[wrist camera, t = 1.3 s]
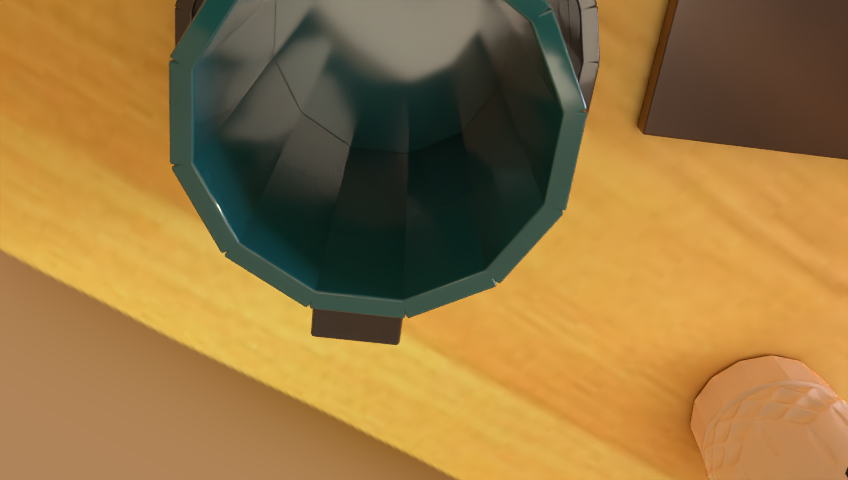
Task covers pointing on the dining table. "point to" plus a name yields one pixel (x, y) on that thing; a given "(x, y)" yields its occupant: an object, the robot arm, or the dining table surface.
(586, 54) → the pan
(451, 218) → the pot
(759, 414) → the white cup
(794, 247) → the dining table surface
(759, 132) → the trivet
